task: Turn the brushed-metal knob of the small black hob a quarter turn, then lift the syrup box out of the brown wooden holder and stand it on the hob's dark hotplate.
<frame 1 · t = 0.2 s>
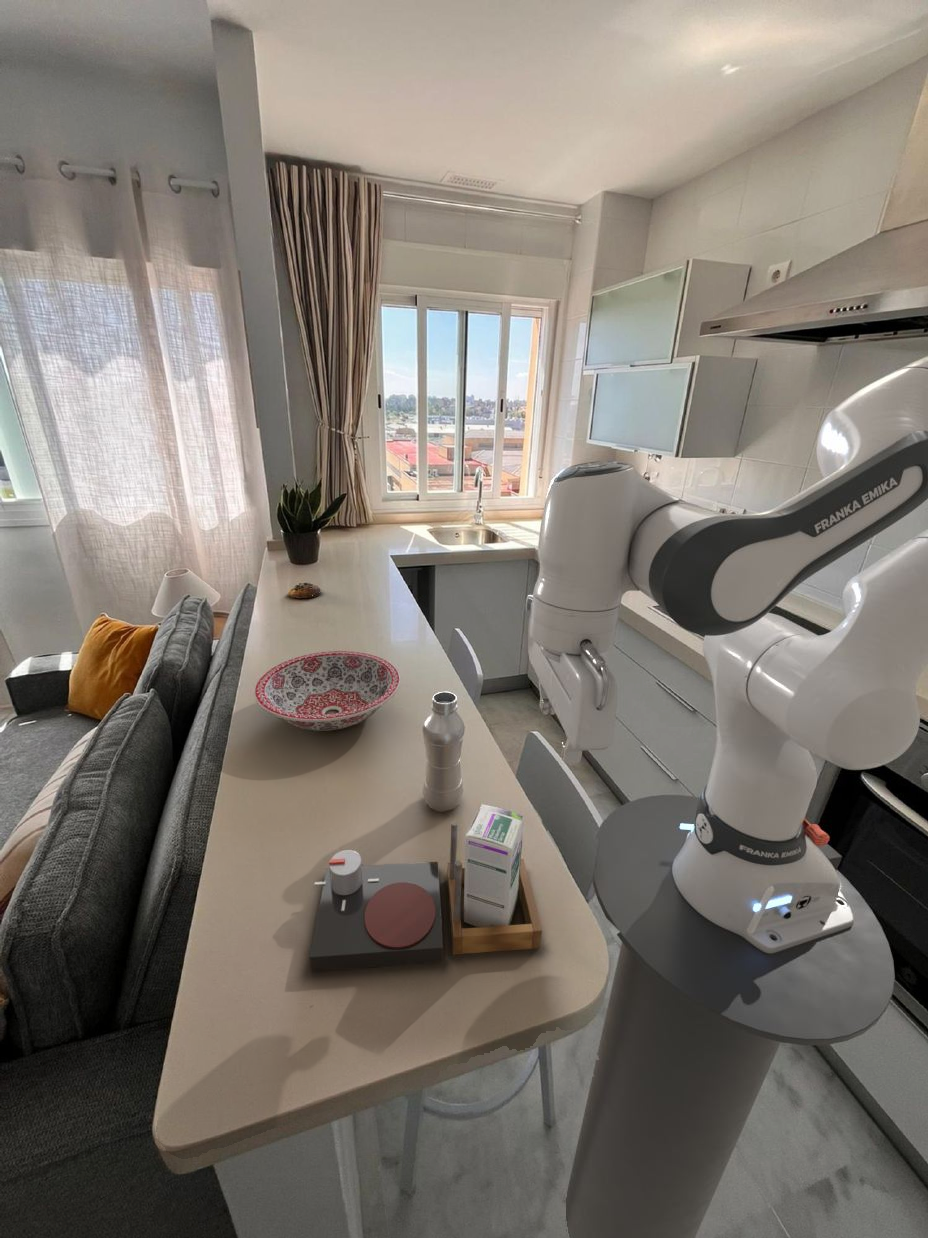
hand: (557, 734, 57), 26 cm above the worktop, tool pointing down, fingers open, 8 cm apart
hotplate: (400, 928, 61), resting on hob
ceramic bowl: (332, 714, 106), on the worktop
syrup box: (490, 912, 64), resting in brown wooden holder
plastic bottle: (442, 803, 82), on the worktop
hob knob: (346, 871, 64), point 4 cm above the worktop, hinge at 0.0°
bread roll: (304, 594, 176), on the worktop
brown wooden holder: (490, 911, 64), on the worktop
hob: (380, 918, 62), on the worktop
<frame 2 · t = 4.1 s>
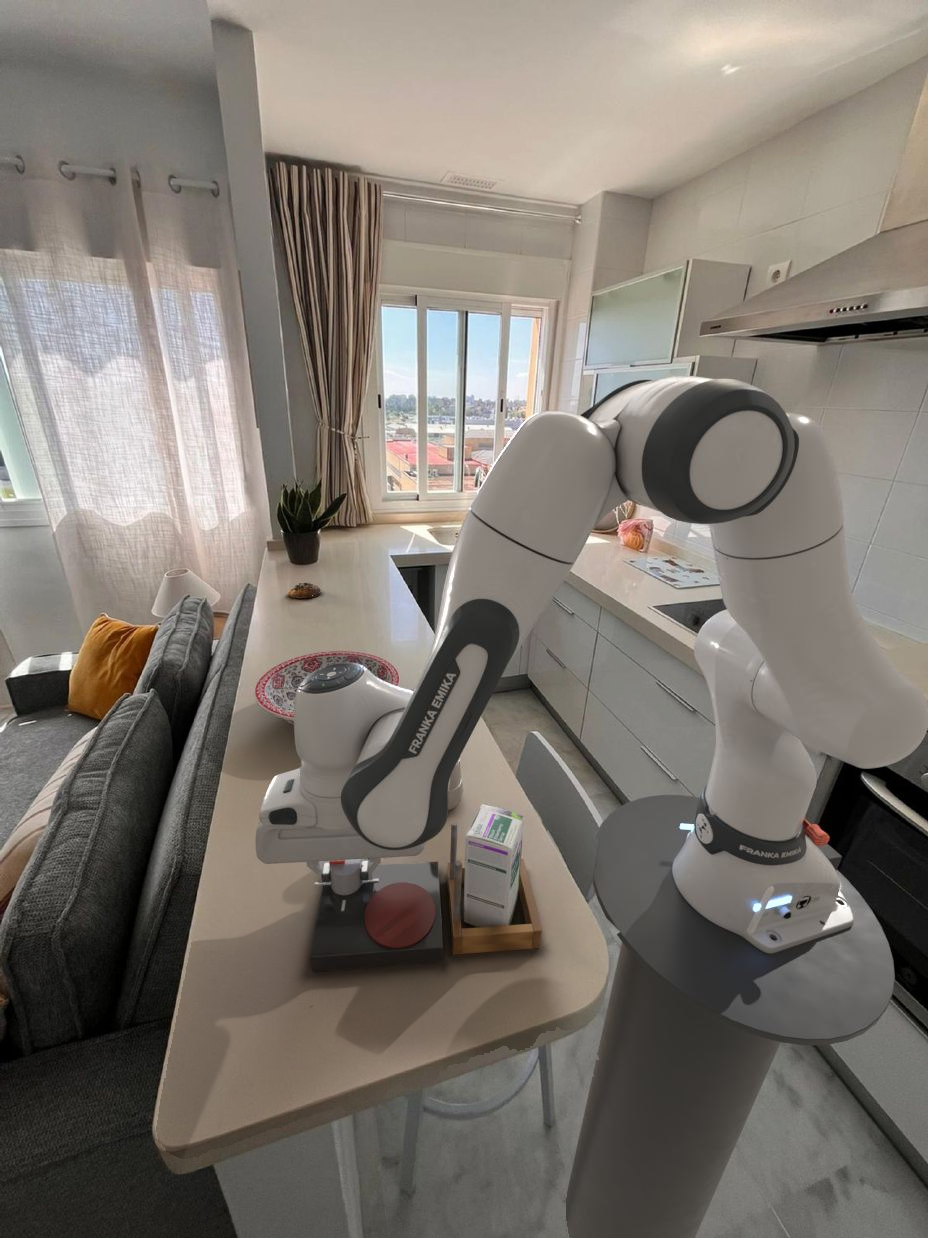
hand: (346, 877, 64), 3 cm above the worktop, tool pointing down, fingers closed on hob knob, 4 cm apart
hob knob: (346, 871, 64), point 4 cm above the worktop, hinge at -0.1°, touching gripper
everything else where it was.
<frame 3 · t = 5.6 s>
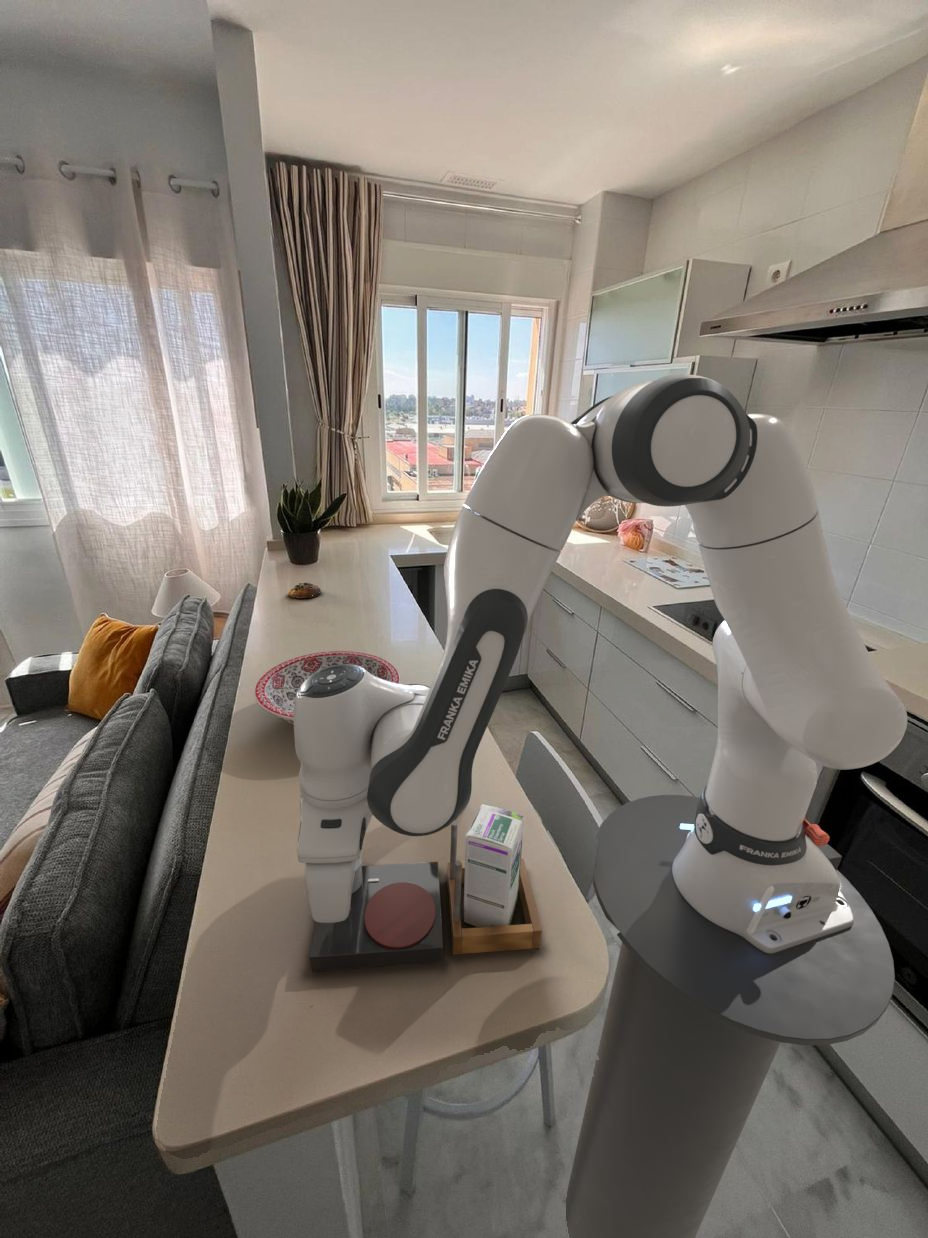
hand: (345, 879, 64), 3 cm above the worktop, tool pointing down, fingers closed on hob knob, 4 cm apart
hob knob: (346, 871, 64), point 4 cm above the worktop, hinge at 86.4°, touching gripper
everything else where it was.
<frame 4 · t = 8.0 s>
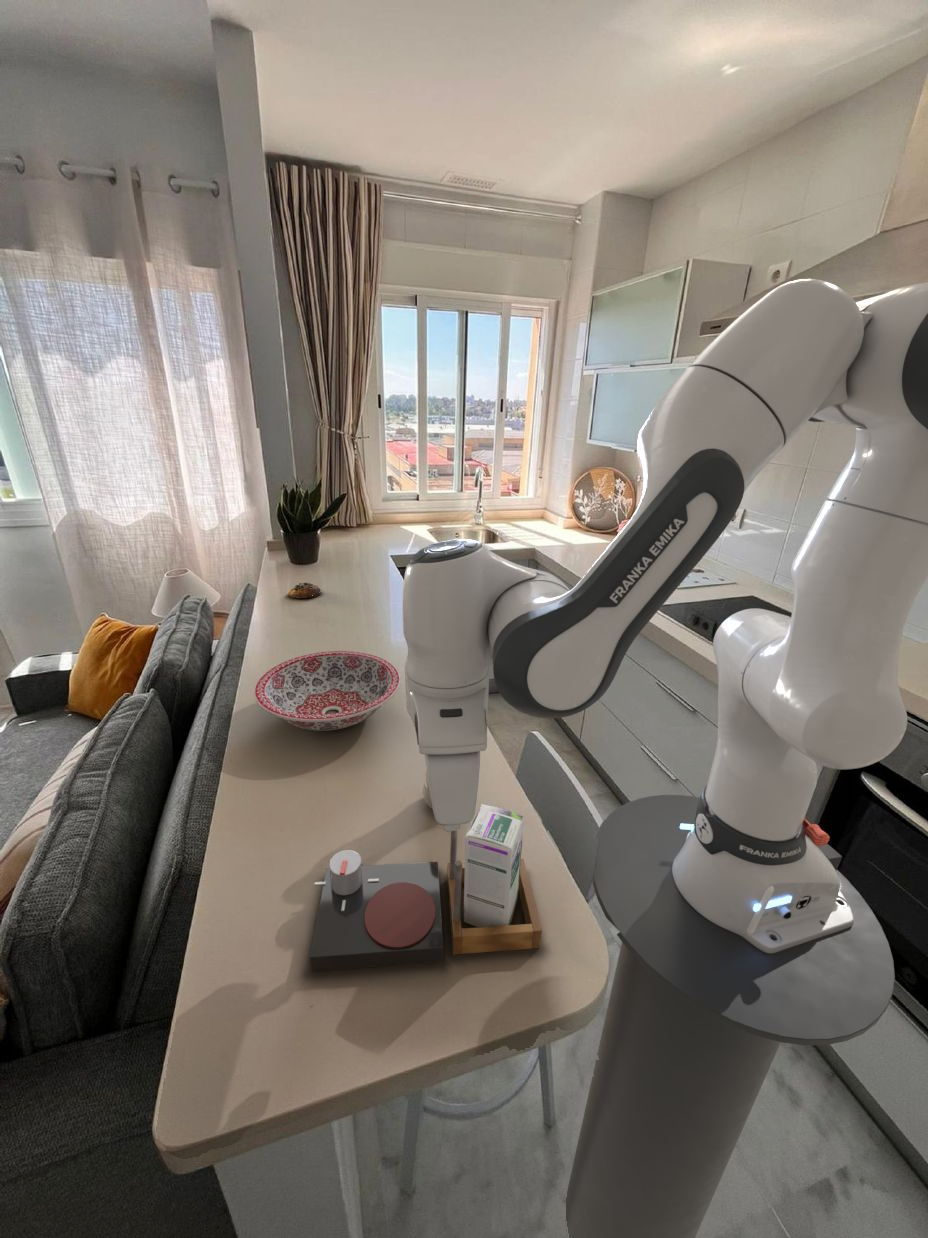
hand: (448, 795, 58), 18 cm above the worktop, tool pointing down, fingers open, 8 cm apart
hob knob: (346, 871, 64), point 4 cm above the worktop, hinge at 86.3°
everything else where it was.
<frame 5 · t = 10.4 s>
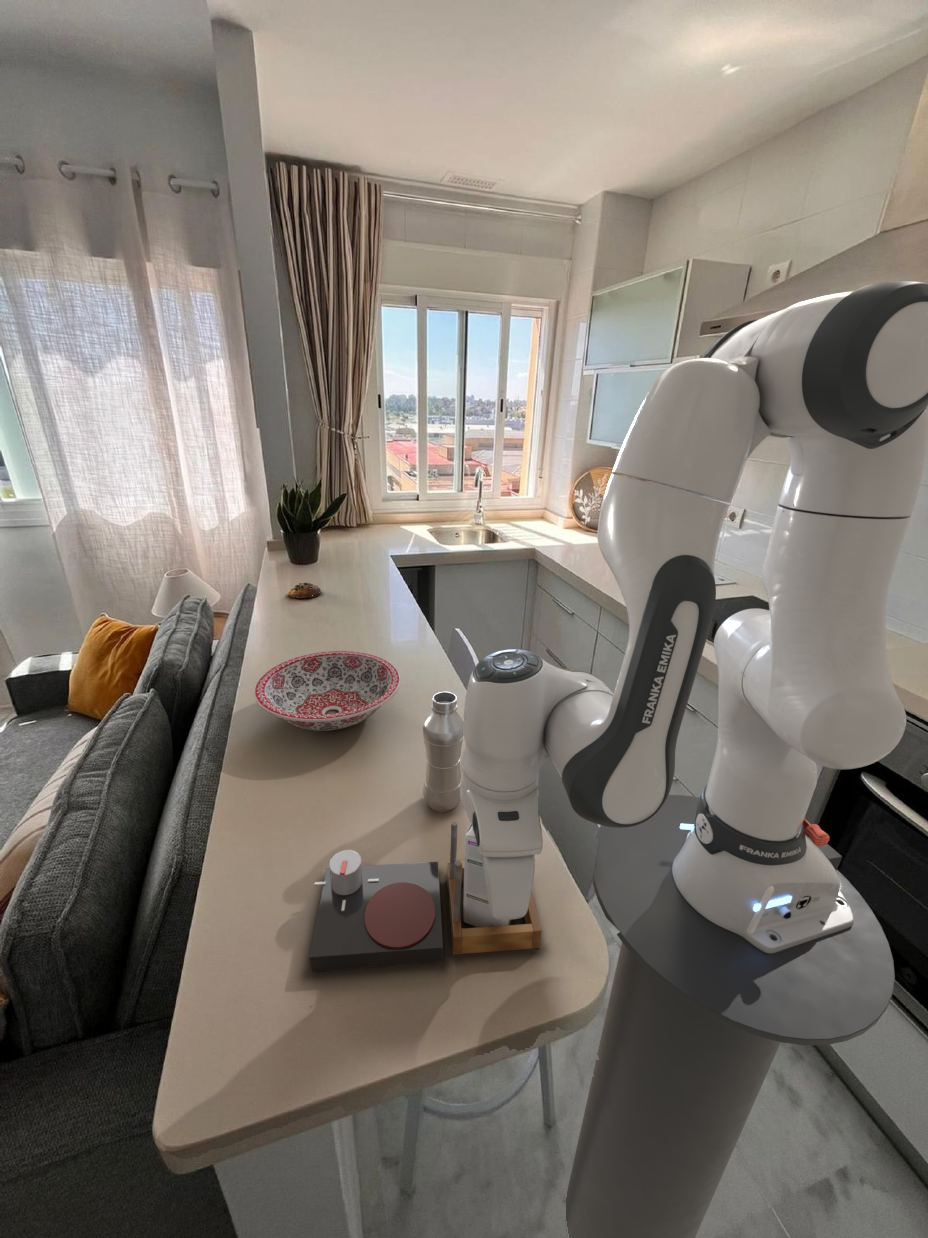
hand: (491, 875, 62), 6 cm above the worktop, tool pointing down, fingers closed on syrup box, 7 cm apart
syrup box: (489, 912, 64), resting in brown wooden holder, touching gripper
everything else where it was.
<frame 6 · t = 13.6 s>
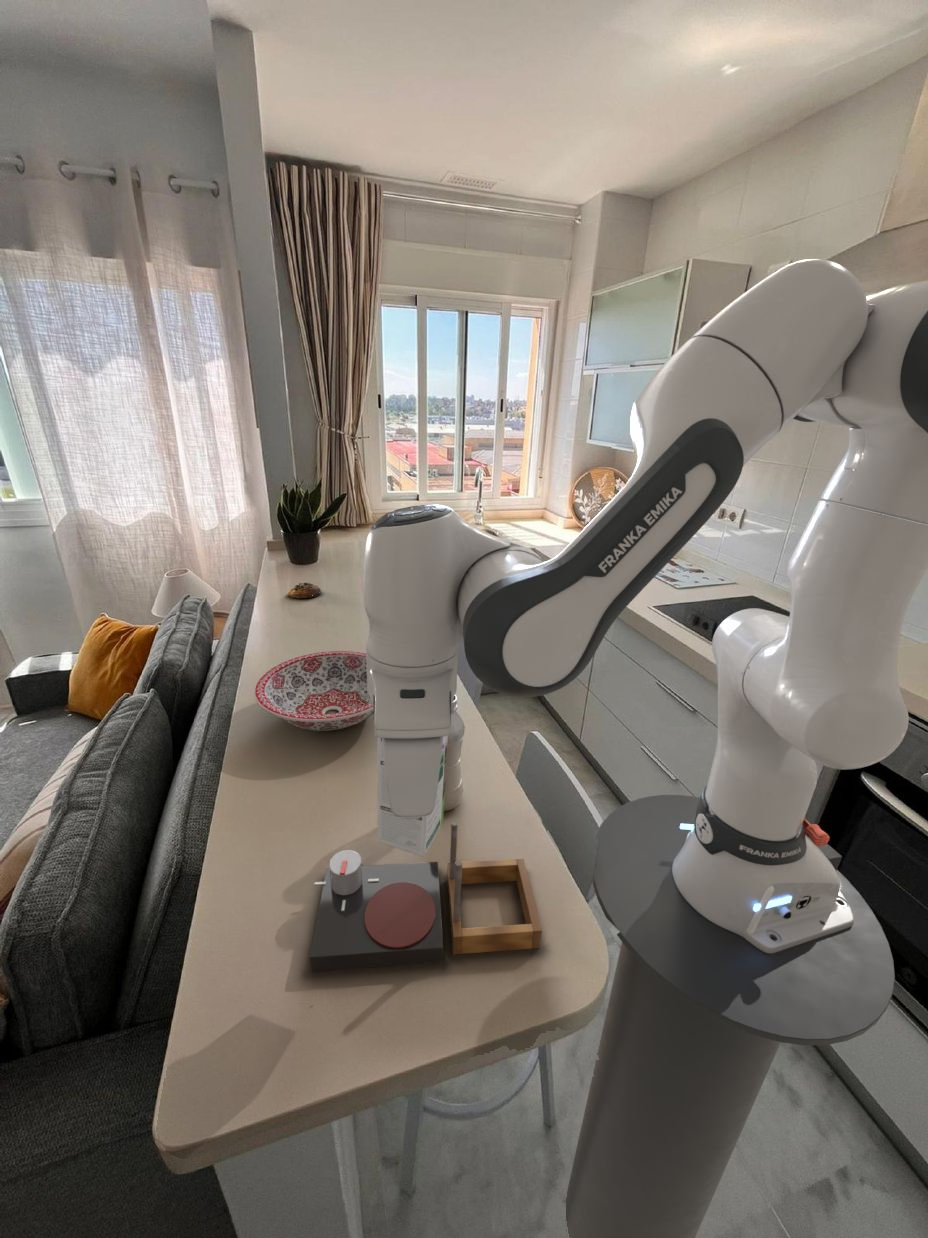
hand: (412, 786, 54), 22 cm above the worktop, tool pointing down, fingers closed on syrup box, 7 cm apart
syrup box: (410, 833, 56), point 15 cm above the worktop, touching gripper
everything else where it was.
when the fingers open (9 cm above the worktop, at t = 17.0 s): syrup box stays where it is, resting on hotplate.
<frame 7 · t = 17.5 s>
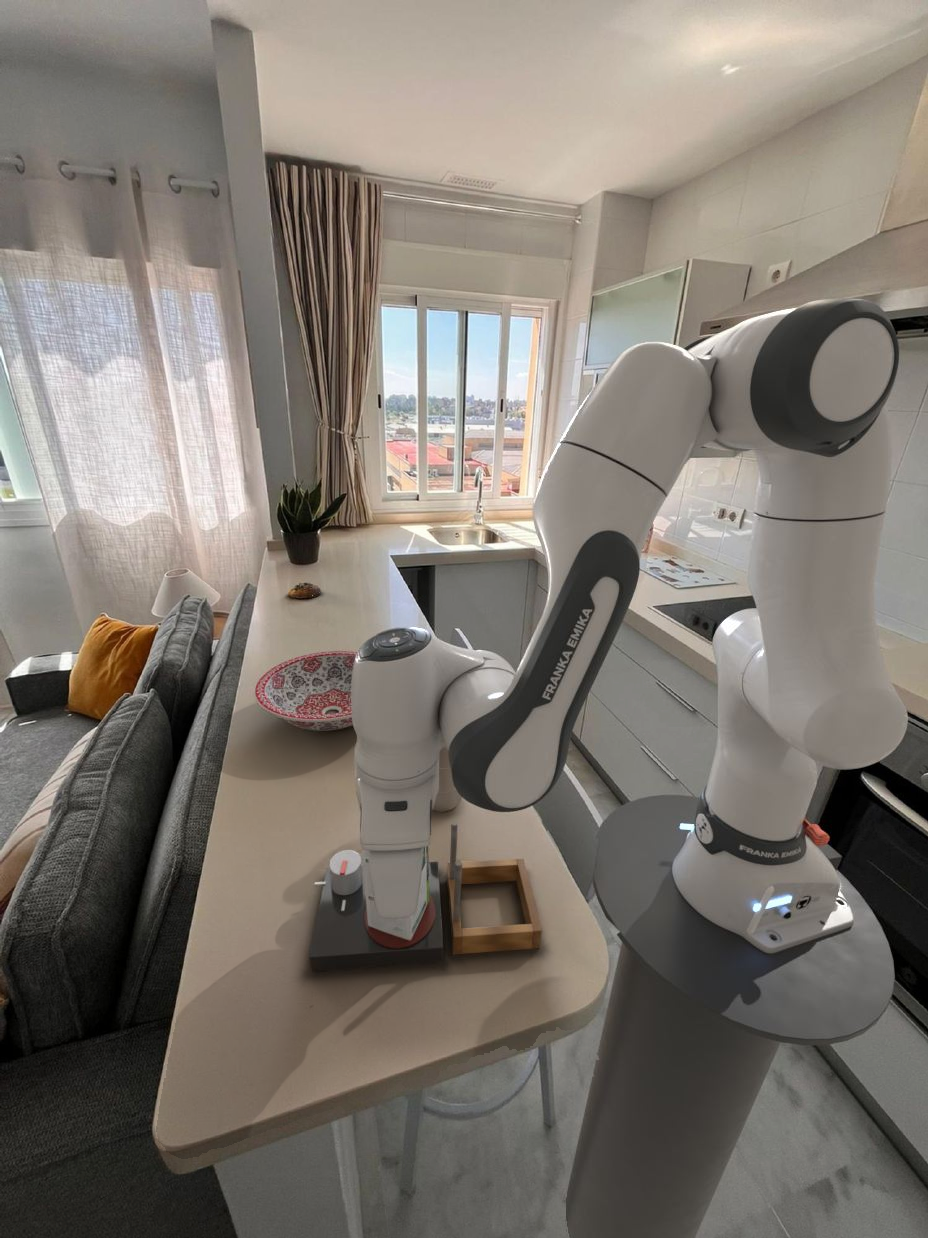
hand: (399, 871, 58), 10 cm above the worktop, tool pointing down, fingers open, 8 cm apart
syrup box: (398, 914, 60), point 3 cm above the worktop, touching hotplate
everything else where it was.
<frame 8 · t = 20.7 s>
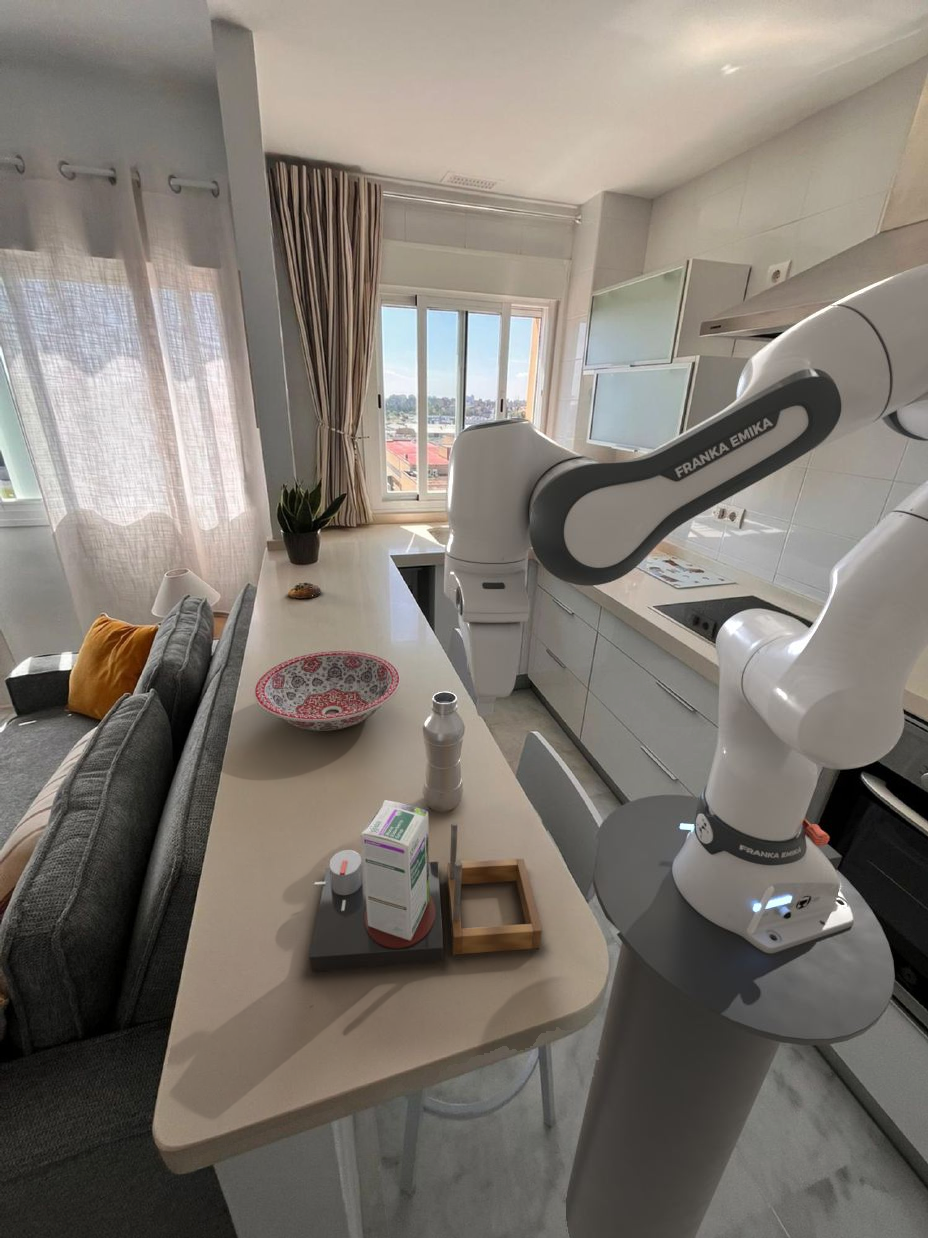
hand: (479, 691, 59), 29 cm above the worktop, tool pointing down, fingers open, 8 cm apart
nothing on the worktop moved.
at the end: hob knob at +86° (first picture: +0°); syrup box 0.2 cm off-centre on the hotplate, point 2.6 cm above the hotplate's base; syrup box tilted 0° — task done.
